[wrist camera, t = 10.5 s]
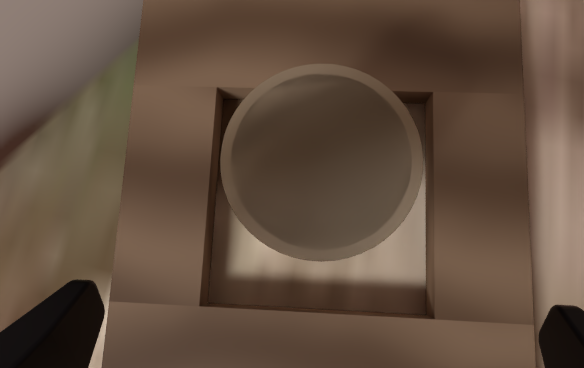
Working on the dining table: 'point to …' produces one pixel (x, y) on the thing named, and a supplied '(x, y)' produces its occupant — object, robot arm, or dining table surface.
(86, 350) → the robot arm
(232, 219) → the dining table surface
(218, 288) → the dining table surface
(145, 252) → the brown flat piece
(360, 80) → the red and beige cylinder
